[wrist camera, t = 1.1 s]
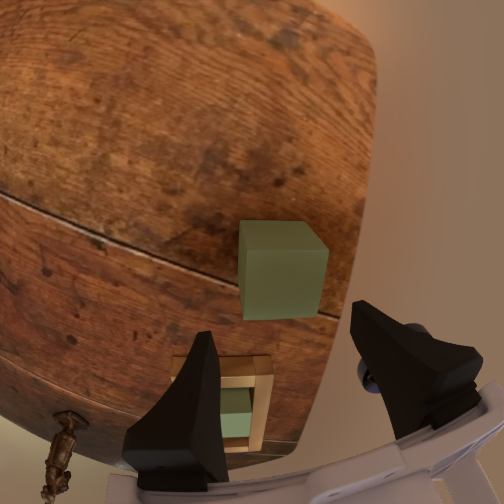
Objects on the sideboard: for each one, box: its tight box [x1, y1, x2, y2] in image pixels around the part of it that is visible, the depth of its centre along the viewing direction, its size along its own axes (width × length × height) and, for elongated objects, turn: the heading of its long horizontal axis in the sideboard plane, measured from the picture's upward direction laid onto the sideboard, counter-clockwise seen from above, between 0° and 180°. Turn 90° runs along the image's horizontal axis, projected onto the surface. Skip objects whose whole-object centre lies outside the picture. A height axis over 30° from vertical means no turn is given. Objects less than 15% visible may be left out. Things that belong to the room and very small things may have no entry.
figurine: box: [41, 411, 89, 504], centre depth 21 cm, size 7×4×15 cm, turn 116°
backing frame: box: [171, 355, 274, 453], centre depth 27 cm, size 9×16×2 cm, turn 177°
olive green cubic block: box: [238, 220, 329, 320], centre depth 18 cm, size 5×5×5 cm
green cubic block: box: [220, 387, 252, 438], centre depth 24 cm, size 5×5×5 cm
